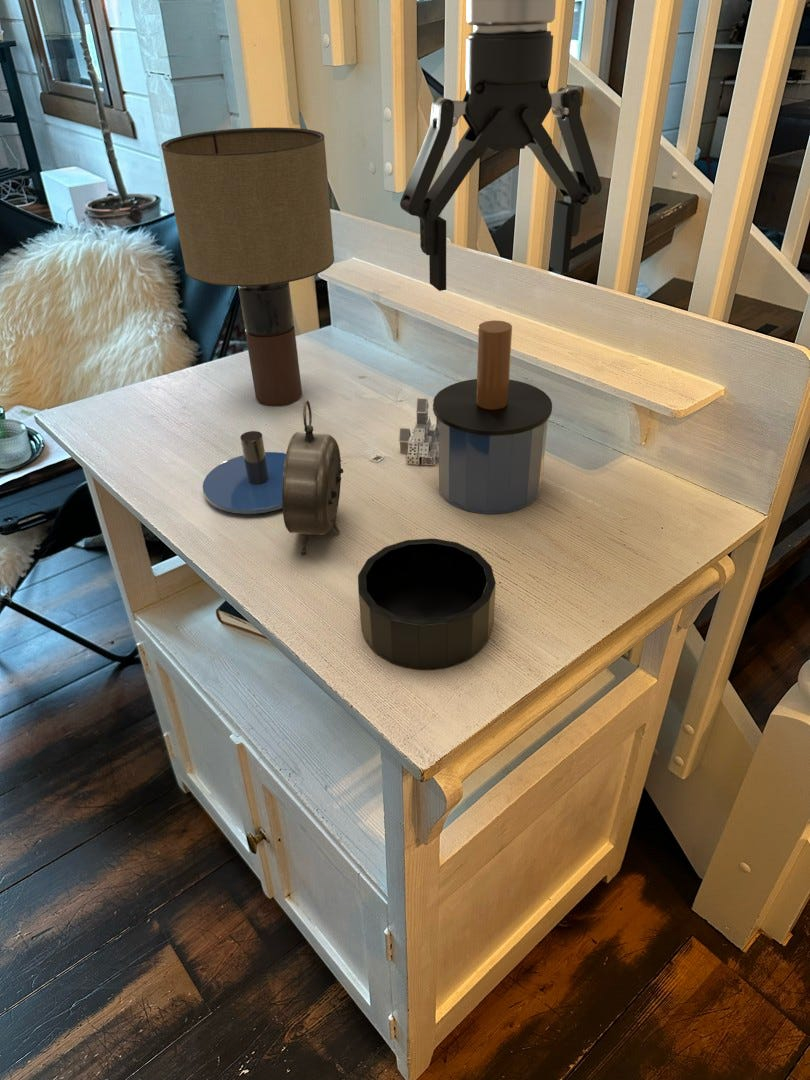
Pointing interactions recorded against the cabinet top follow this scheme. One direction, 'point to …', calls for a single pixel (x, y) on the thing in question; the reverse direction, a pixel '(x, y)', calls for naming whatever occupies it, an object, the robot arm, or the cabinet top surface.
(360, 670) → the cabinet top surface
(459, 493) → the pot
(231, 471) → the pot lid
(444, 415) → the lid
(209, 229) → the lamp
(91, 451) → the cabinet top surface
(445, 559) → the pan
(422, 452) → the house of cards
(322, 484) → the alarm clock
